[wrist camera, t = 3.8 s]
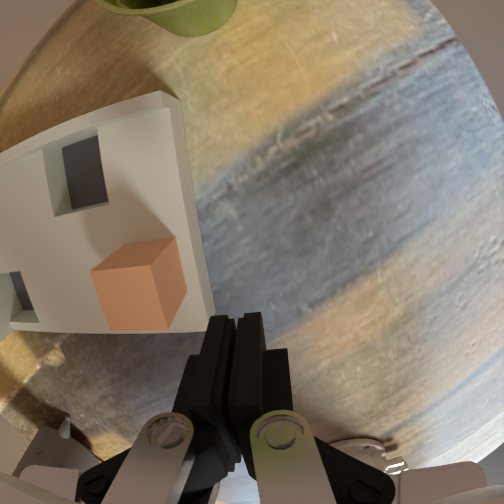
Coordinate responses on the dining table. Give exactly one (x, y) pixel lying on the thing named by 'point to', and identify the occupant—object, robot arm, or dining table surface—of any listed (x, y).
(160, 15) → the plant pot
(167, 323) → the block
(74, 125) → the tray
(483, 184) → the dining table surface
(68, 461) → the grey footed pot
